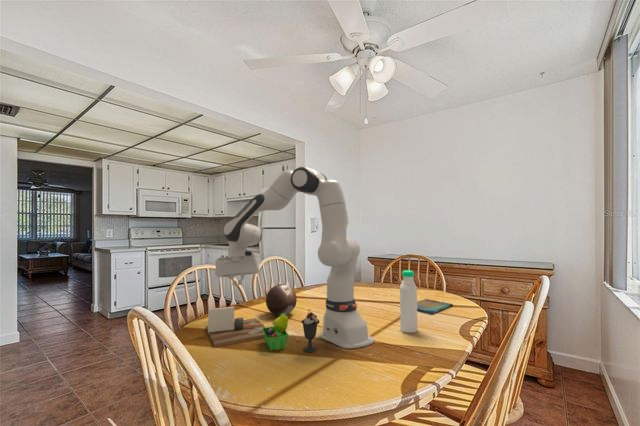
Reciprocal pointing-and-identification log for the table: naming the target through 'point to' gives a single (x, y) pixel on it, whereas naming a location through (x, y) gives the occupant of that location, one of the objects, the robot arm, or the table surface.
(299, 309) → the table surface
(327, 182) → the robot arm
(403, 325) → the water bottle
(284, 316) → the fruit basket
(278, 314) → the wooden sphere
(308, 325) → the sundae
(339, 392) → the table surface
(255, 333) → the wooden board
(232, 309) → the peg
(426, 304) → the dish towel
